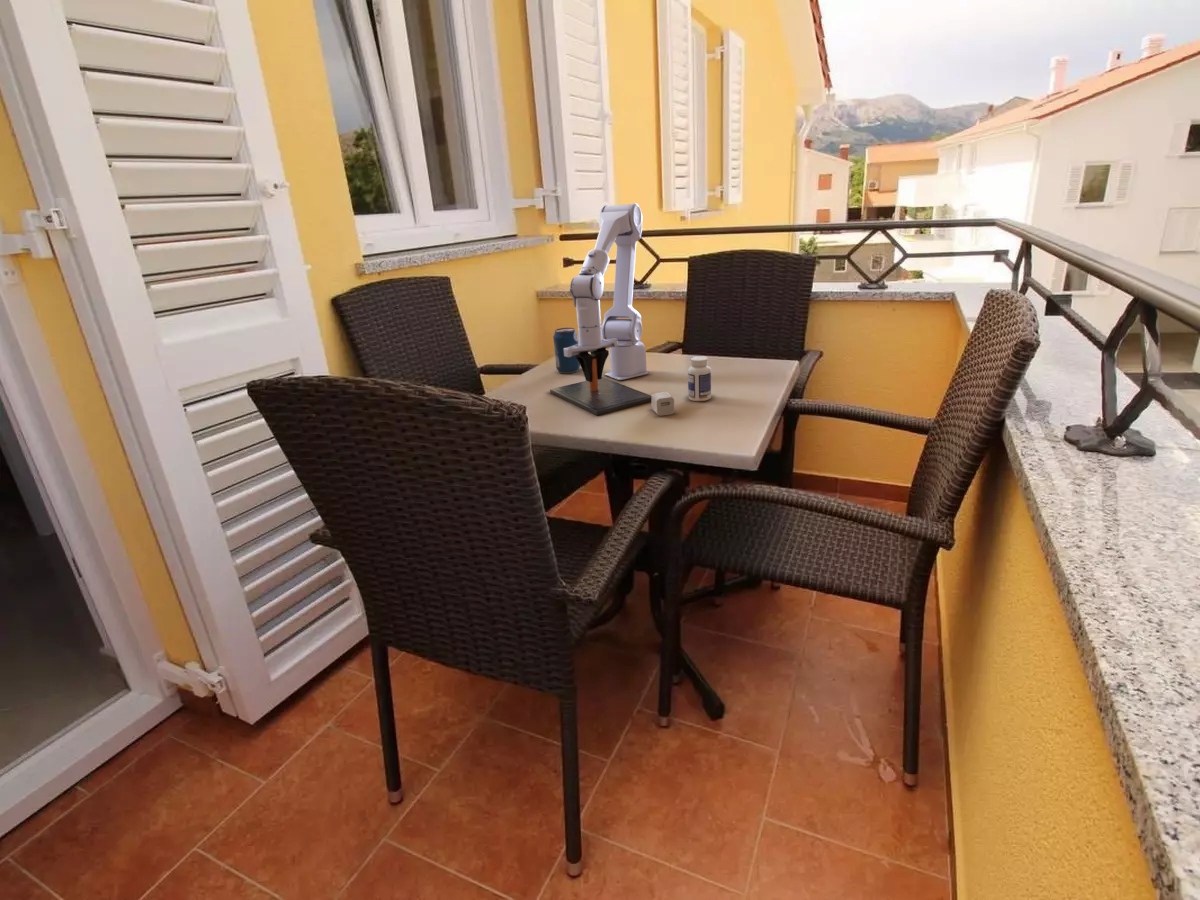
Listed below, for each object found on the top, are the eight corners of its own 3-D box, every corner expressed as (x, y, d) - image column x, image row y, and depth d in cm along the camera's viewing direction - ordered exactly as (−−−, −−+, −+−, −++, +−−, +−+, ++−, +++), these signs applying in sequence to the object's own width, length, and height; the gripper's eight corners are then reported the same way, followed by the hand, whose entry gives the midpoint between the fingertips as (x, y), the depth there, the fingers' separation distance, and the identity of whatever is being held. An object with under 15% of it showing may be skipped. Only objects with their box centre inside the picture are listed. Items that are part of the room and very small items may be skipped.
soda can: (585, 368, 182) (581, 327, 178) (571, 374, 177) (567, 332, 173) (565, 366, 186) (561, 326, 181) (551, 372, 181) (547, 331, 176)
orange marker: (595, 387, 159) (593, 353, 156) (600, 389, 158) (598, 355, 154) (587, 389, 158) (585, 355, 155) (592, 391, 157) (590, 356, 153)
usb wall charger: (657, 416, 140) (656, 398, 138) (648, 407, 146) (648, 390, 144) (674, 413, 140) (673, 396, 139) (665, 404, 147) (664, 388, 145)
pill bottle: (712, 395, 151) (712, 355, 147) (709, 402, 146) (708, 361, 142) (690, 394, 152) (690, 355, 149) (686, 401, 148) (685, 361, 144)
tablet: (602, 380, 169) (602, 376, 169) (654, 400, 150) (654, 396, 150) (550, 392, 162) (549, 388, 162) (597, 415, 143) (596, 411, 142)
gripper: (605, 318, 158) (608, 371, 163) (555, 328, 151) (560, 382, 157) (621, 322, 153) (624, 376, 158) (570, 332, 146) (575, 388, 151)
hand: (593, 379), depth 157 cm, fingers closed on orange marker, 2 cm apart
